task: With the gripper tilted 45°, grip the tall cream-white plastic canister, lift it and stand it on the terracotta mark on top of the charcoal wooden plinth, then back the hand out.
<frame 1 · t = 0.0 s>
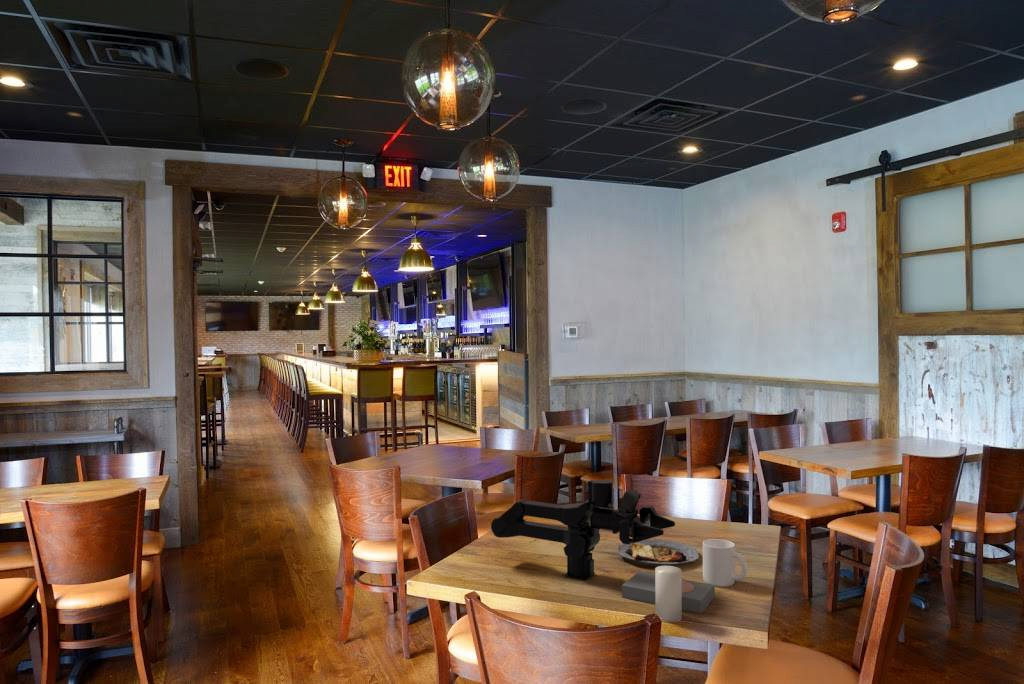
hand: (669, 528, 173), 17 cm above the table, tool horizontal, fingers open, 9 cm apart
food plate: (657, 558, 203), on the table
mug: (725, 584, 180), on the table
canister: (668, 616, 158), on the table
plinth: (668, 596, 170), on the table
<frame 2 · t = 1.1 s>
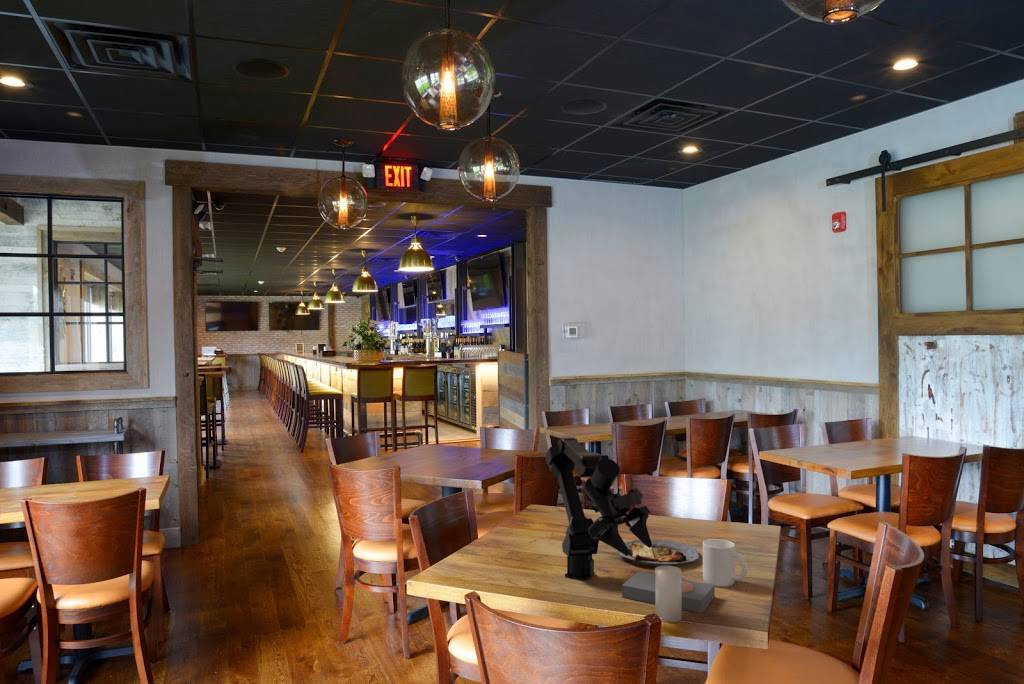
hand: (639, 550, 164), 14 cm above the table, tool tilted 45°, fingers open, 9 cm apart
nothing on the table moved.
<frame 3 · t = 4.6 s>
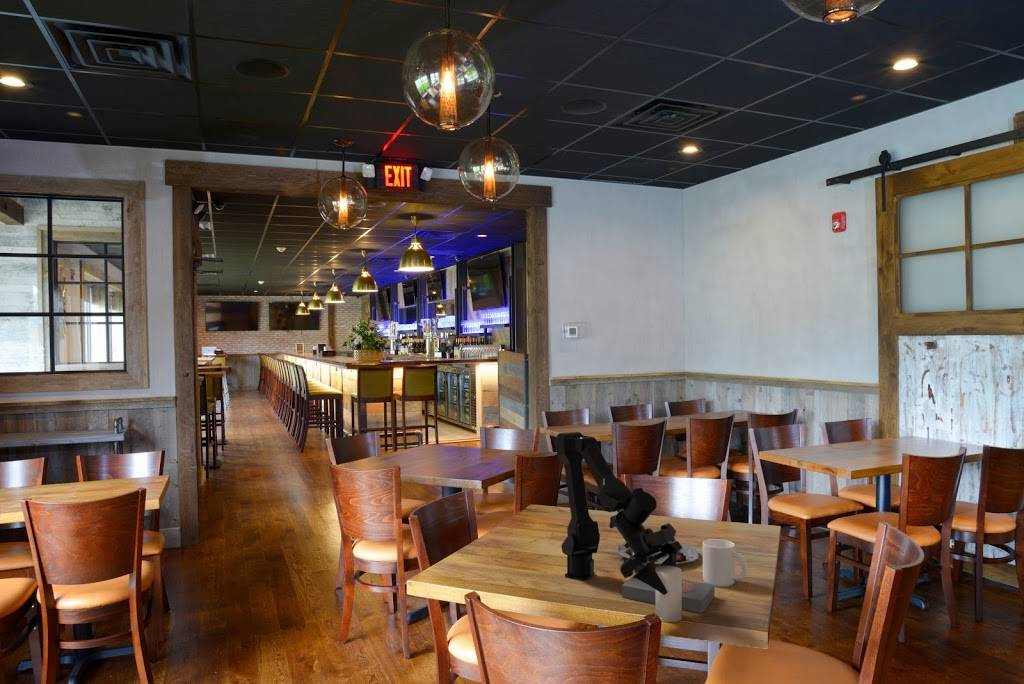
hand: (673, 590, 157), 7 cm above the table, tool tilted 45°, fingers closed on canister, 6 cm apart
canister: (668, 616, 158), on the table, touching gripper
everything else where it was.
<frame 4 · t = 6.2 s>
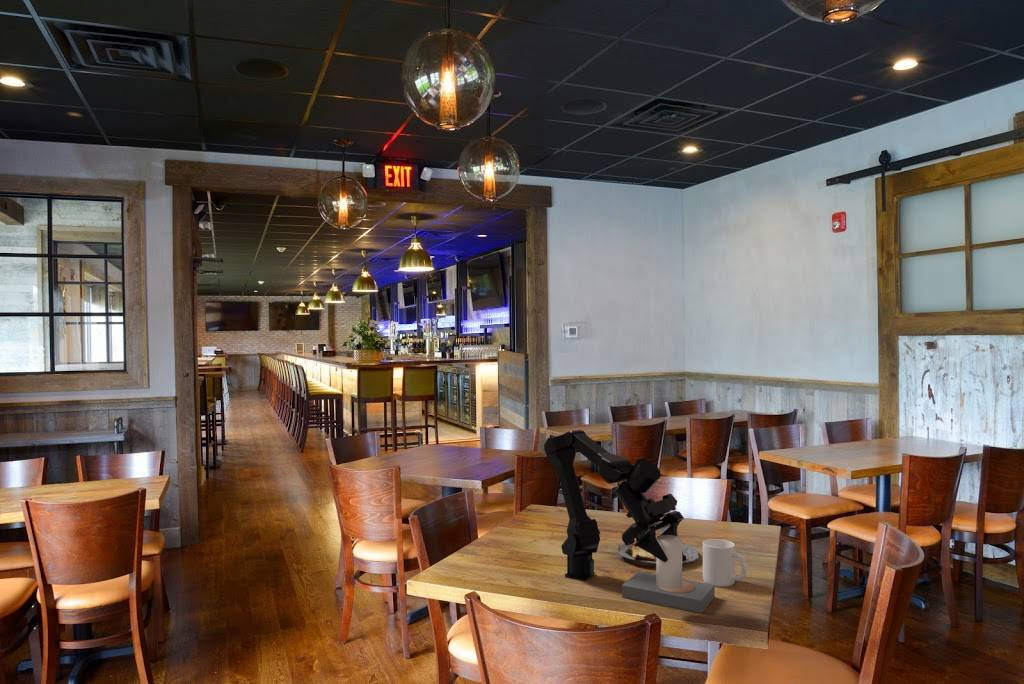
hand: (674, 558, 160), 13 cm above the table, tool tilted 45°, fingers closed on canister, 6 cm apart
canister: (669, 584, 161), point 7 cm above the table, touching gripper
everything else where it was.
when the fingers open (11 cm above the table, at t = 8.2 s): canister drops 1 cm, resting on plinth.
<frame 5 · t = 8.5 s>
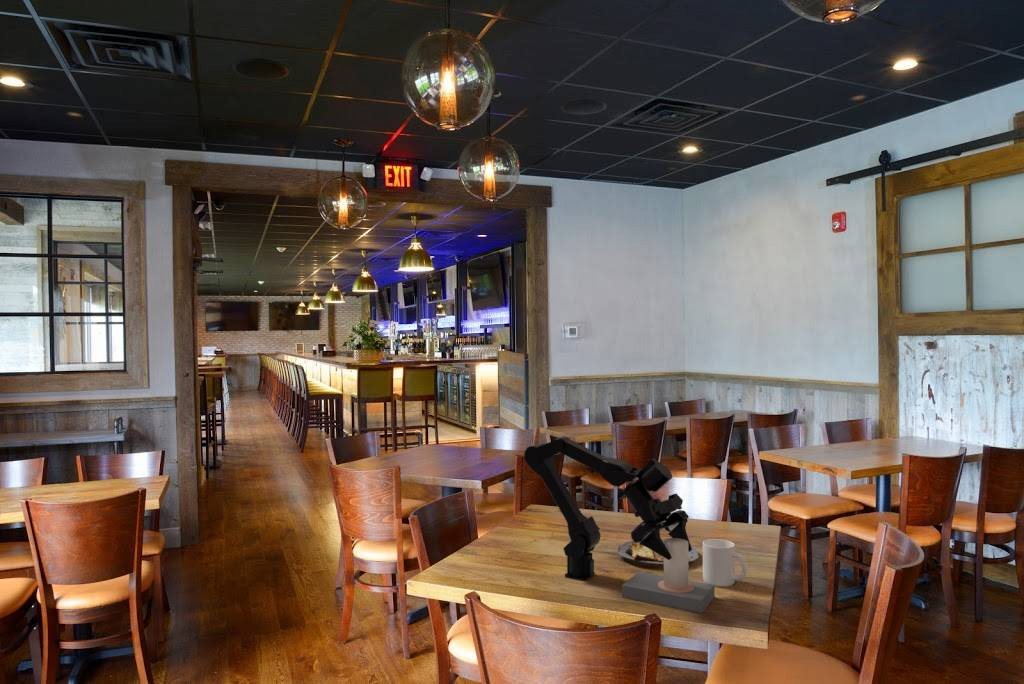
hand: (680, 554, 168), 11 cm above the table, tool tilted 45°, fingers open, 9 cm apart
canister: (675, 585, 169), point 3 cm above the table, touching plinth
everything else where it was.
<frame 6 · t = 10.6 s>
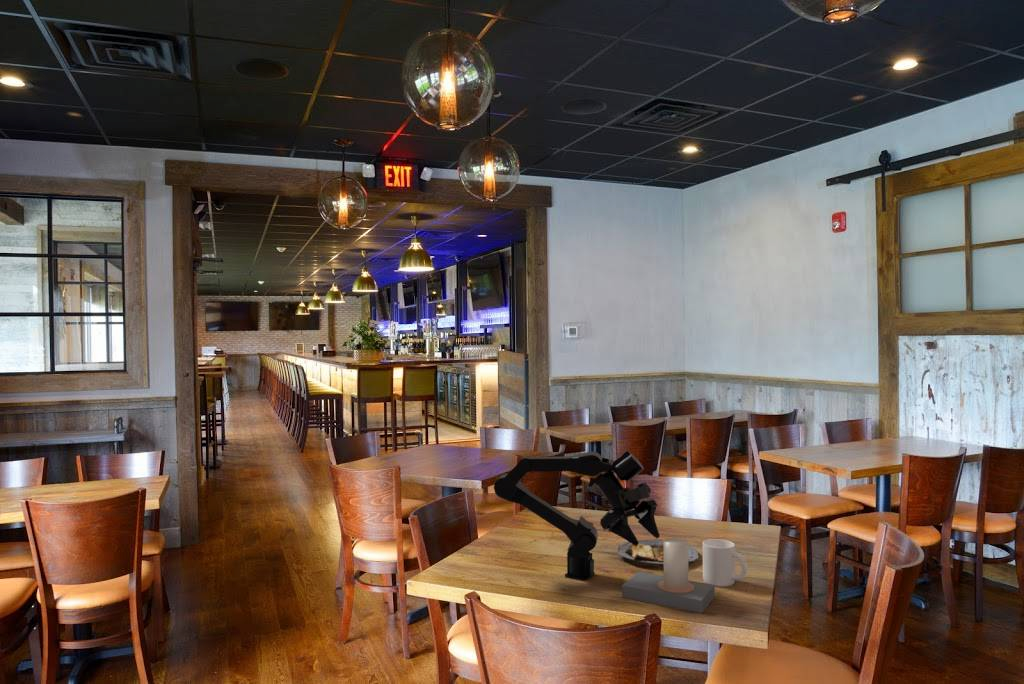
hand: (648, 541, 175), 13 cm above the table, tool tilted 45°, fingers open, 9 cm apart
nothing on the table moved.
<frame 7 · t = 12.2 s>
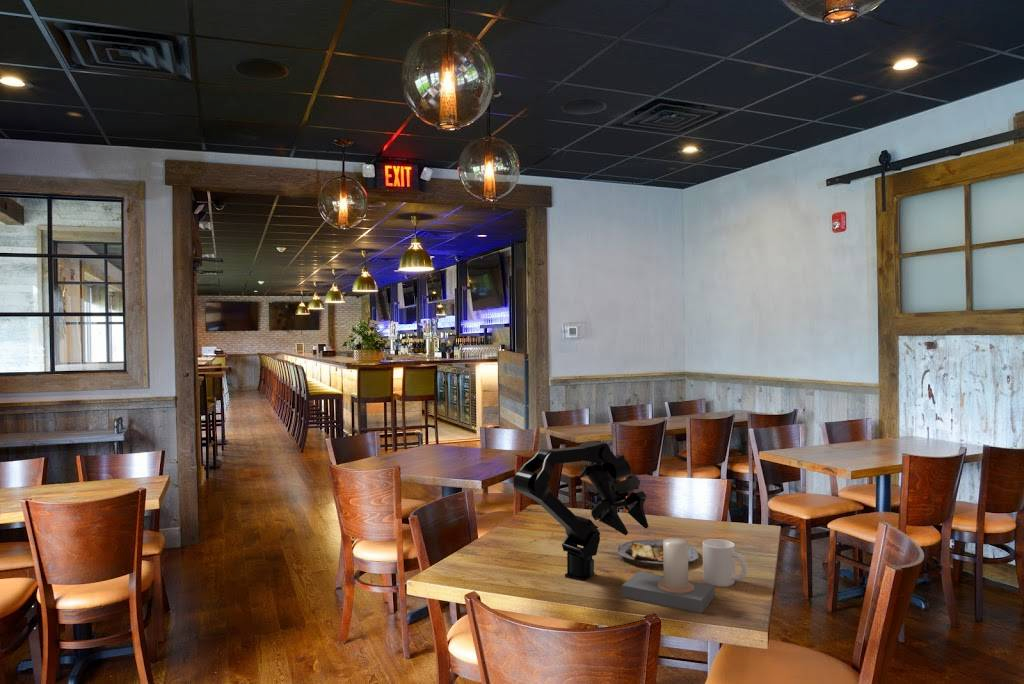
hand: (637, 530, 182), 14 cm above the table, tool tilted 45°, fingers open, 9 cm apart
nothing on the table moved.
at the end: canister 0.1 cm from the target spot on the plinth, point 3.2 cm above the plinth's base; canister tilted 0°; the gripper is holding nothing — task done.
